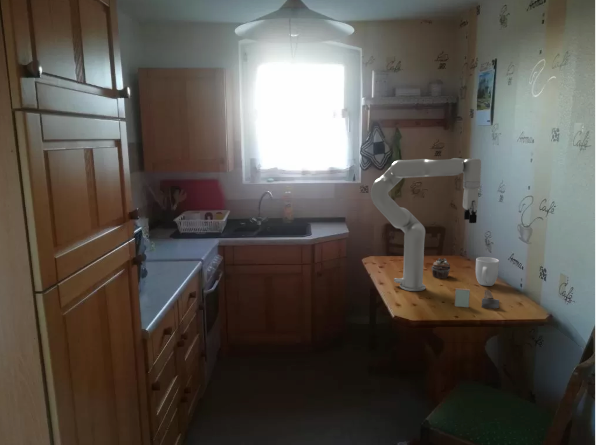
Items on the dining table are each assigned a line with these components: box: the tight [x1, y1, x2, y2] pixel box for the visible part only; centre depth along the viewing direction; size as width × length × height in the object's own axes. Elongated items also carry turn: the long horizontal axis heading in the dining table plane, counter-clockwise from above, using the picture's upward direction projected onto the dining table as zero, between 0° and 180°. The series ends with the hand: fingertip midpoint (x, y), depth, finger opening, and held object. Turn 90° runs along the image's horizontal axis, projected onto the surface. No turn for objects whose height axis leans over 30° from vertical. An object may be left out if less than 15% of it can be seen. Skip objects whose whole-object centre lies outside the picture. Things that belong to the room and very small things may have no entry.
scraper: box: [481, 289, 500, 309], centre depth 214 cm, size 7×12×4 cm, turn 165°
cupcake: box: [431, 257, 451, 279], centre depth 255 cm, size 10×10×10 cm
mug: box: [475, 256, 500, 287], centre depth 239 cm, size 15×11×13 cm
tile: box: [454, 287, 471, 309], centre depth 210 cm, size 6×2×8 cm, turn 75°
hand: (470, 221), depth 223 cm, fingers open, 9 cm apart
